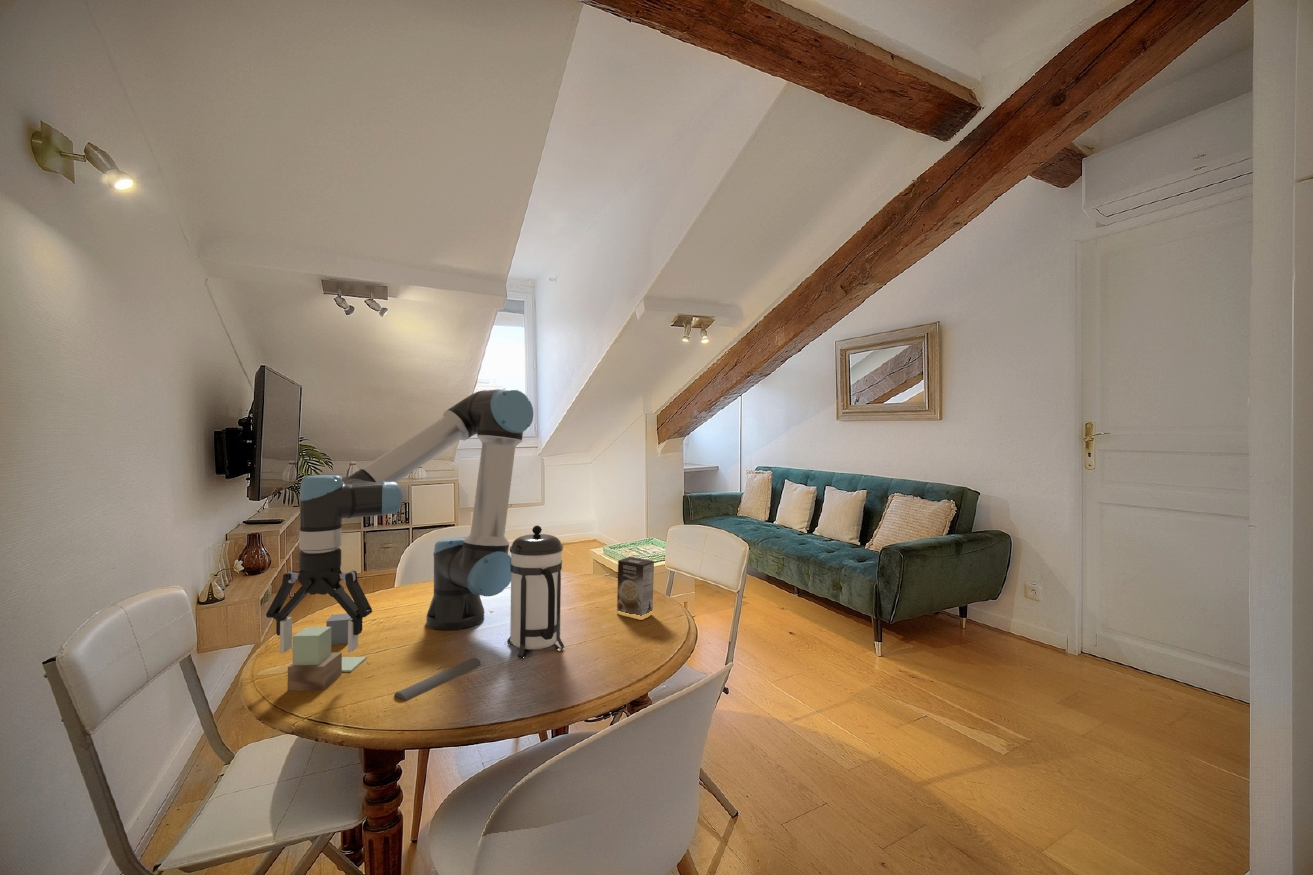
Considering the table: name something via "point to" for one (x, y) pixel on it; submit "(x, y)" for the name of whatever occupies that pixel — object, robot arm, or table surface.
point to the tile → (351, 663)
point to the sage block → (311, 645)
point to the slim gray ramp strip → (438, 679)
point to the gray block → (338, 628)
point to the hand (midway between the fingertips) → (319, 650)
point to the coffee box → (635, 586)
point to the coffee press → (535, 592)
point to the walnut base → (315, 674)
